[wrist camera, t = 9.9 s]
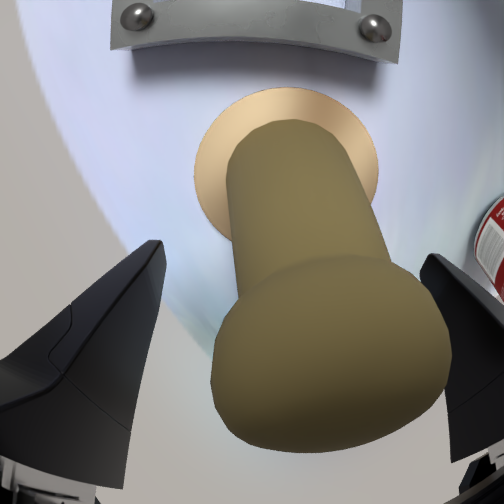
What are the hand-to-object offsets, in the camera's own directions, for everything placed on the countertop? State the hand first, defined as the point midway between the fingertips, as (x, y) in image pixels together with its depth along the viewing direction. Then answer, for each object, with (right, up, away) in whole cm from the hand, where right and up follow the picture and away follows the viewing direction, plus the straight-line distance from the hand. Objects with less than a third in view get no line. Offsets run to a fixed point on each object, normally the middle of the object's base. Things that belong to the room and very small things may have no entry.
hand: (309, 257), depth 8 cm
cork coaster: (0, +4, +5) cm, 6 cm away
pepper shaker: (0, +4, +4) cm, 6 cm away
